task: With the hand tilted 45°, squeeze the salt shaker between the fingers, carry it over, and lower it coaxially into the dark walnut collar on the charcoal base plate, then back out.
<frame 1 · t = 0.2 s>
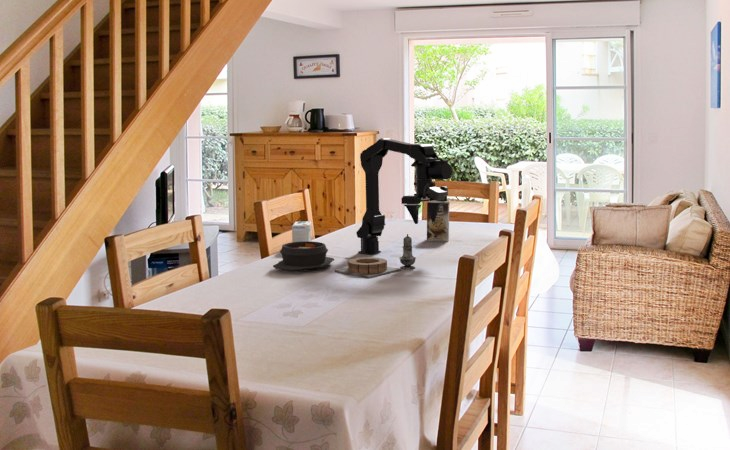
hand: (424, 222, 292), 14 cm above the table, tool pointing down, fingers open, 9 cm apart
light bulb box: (302, 250, 322), on the table
coffee box: (438, 240, 340), on the table
salt shaker: (407, 268, 284), on the table
casserole: (304, 268, 286), on the table
walnut collar: (367, 271, 279), on the table
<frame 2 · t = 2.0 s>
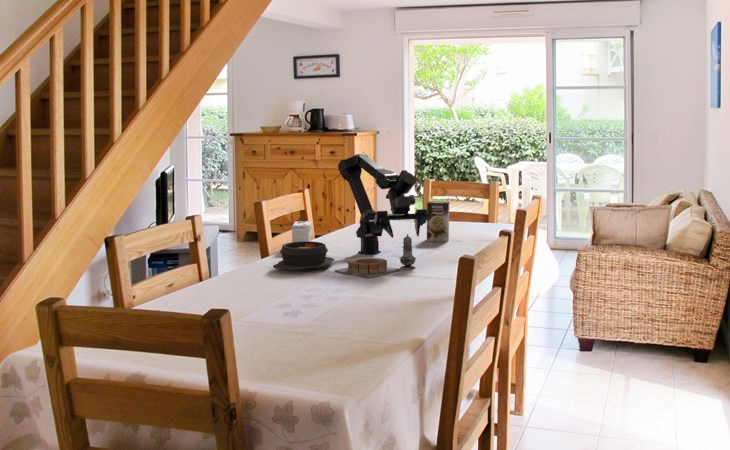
hand: (405, 236, 286), 11 cm above the table, tool tilted 45°, fingers open, 9 cm apart
nothing on the table moved.
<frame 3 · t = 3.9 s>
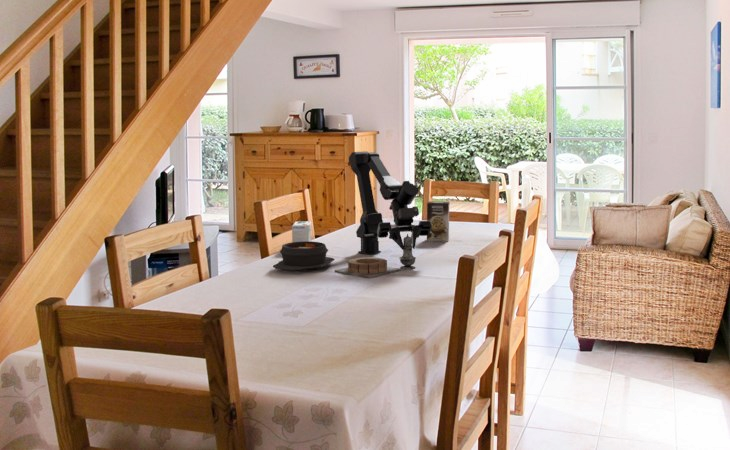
hand: (408, 248, 281), 7 cm above the table, tool tilted 45°, fingers closed on salt shaker, 4 cm apart
salt shaker: (407, 268, 284), on the table, touching gripper
everything else where it was.
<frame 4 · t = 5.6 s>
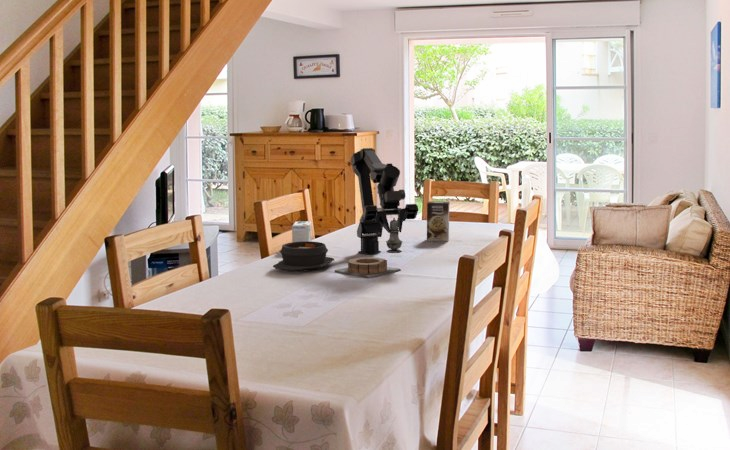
hand: (395, 231, 279), 13 cm above the table, tool tilted 45°, fingers closed on salt shaker, 4 cm apart
salt shaker: (394, 252, 282), point 6 cm above the table, touching gripper
everything else where it was.
when the fingers open (9 cm above the table, at t = 7.7 s): salt shaker drops 1 cm, resting on walnut collar.
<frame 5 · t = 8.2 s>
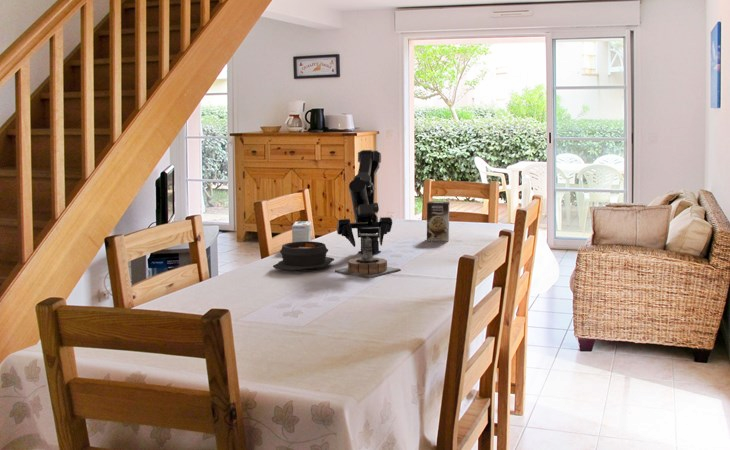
hand: (368, 245, 276), 9 cm above the table, tool tilted 45°, fingers open, 9 cm apart
salt shaker: (367, 269, 279), resting on walnut collar
everything else where it was.
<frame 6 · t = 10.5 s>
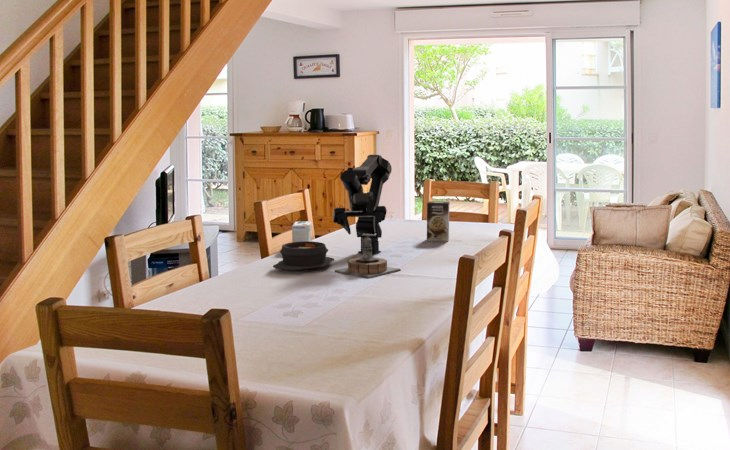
hand: (363, 233, 285), 12 cm above the table, tool tilted 45°, fingers open, 9 cm apart
nothing on the table moved.
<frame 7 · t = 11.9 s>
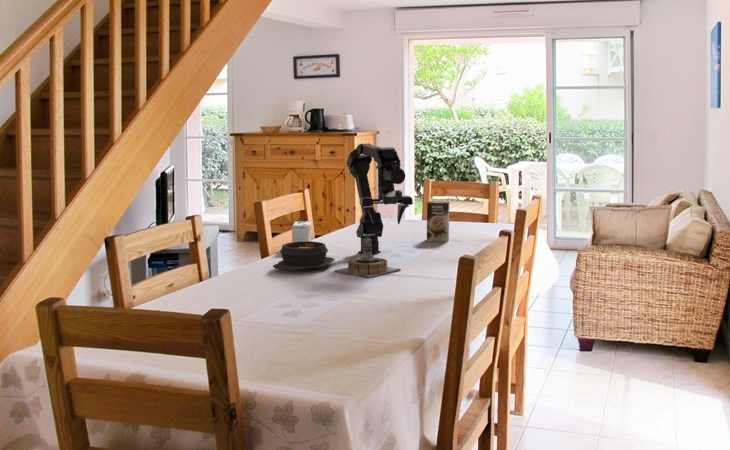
hand: (386, 224, 298), 13 cm above the table, tool pointing down, fingers open, 9 cm apart
nothing on the table moved.
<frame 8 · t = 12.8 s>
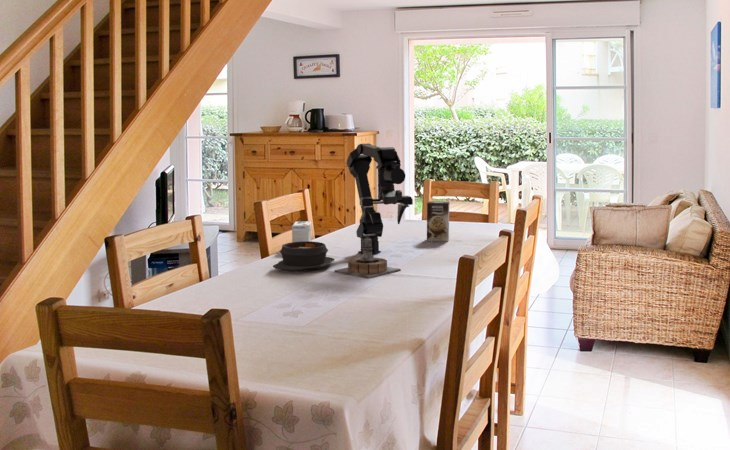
hand: (386, 224, 298), 13 cm above the table, tool pointing down, fingers open, 9 cm apart
nothing on the table moved.
at the end: salt shaker 0.1 cm off-centre on the walnut collar, point 0.4 cm above the walnut collar's base; salt shaker tilted 0°; the gripper is holding nothing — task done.
